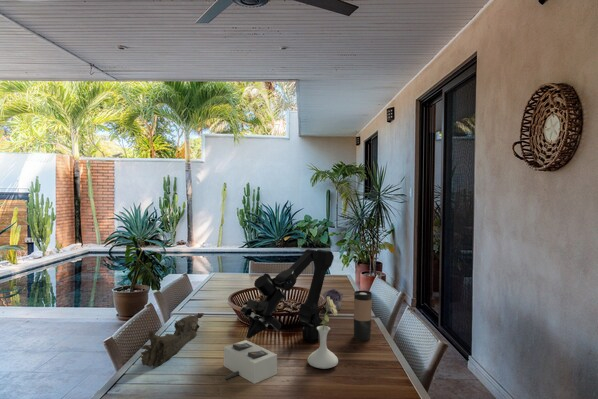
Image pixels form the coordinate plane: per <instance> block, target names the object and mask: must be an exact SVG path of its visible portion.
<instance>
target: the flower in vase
mask: <svg viewBox="0 0 598 399" xmlns="http://www.w3.org/2000/svg"><path fill="white" fill-rule="evenodd" d="M327 302H328V305H329V307H328V309H329V308H330V310H331V312H332V314H333V316H338V314H339V311H337V310H336V309H335V308H336V306H335V305H334V303H333V300H332V299H331V300H330V297H329V298H328V296H327ZM328 309H327V311H328ZM325 311H326V310H325ZM327 311H326V312H325V313H324V317H323V320H322V322H321V323H320V324H323V326H318V327H317V330H318V331H319V347H318V348H317V349H316V350H314V351H313V352H312V353H310V355H309V356H308V358H307V363H308V364H309V365H310V366H311V367H314V368H317V369H323V370H325V369H330V368H331V369H332V368H334V367H335V366H337V365H338V363H339V359H338V357H337V356H336V354H335V353H334V352H332V351H331V350H329V349H328V347H327V337H328V333H329V331H330V330H331V327H329V326H328V325H327V326H326V325H325V324H327V323H328V322H329V320H330V318H329V315H327V313H328V312H327Z"/></svg>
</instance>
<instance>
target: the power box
mask: <svg viewBox="0 0 598 399" xmlns="http://www.w3.org/2000/svg"><path fill="white" fill-rule="evenodd" d="M233 344H247V345H249V346H251V347H250V348H247V349H244V350H237V349H235V348H233ZM256 351H262V352H264V353H266V354H268V355H265V356H262V357H260V358H252V357H250V356H248V352H256ZM223 367H225V368H227V369H228V370H230V371H232V373H229V374H226V375H225V379H226V380H228V379H229V380H230V379H231V378H233V377H236V376H238V375H239V376H240V377H242V378H244V379H245V380H246V381H248V382H250V383H252V384H257V383H259V382H262V381H264V380H266V379H269V378H271V377H274V376H276V375H277V373H278V371H277V370H278V354H277V353H275V352H273V351H270V350H268V349H266V348H264V347H262V346H259V345H257V344H256V343H253V342H251V341H249V340H247V339H245V340H242V341H238V342H234V343H232V344H229V345H226V346H224V347H223Z"/></svg>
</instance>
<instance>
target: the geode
mask: <svg viewBox="0 0 598 399" xmlns="http://www.w3.org/2000/svg"><path fill="white" fill-rule="evenodd" d="M322 296H324V297H325V298H326V299H327V296H328V298H329V297H330V300H331V299H332V300H333V303H334V305H335V306H336V308H335V309H336V310H337V312H339V311H340V309H341V306H342V302H343V297H344V295H343V293H341V292H339V291H338V290H337V289H335V288H332V289H330V290H329V289H326V290H325V291H324V293H323V295H322ZM328 307H329V305H328V302H327V304H326V305H325V307H324V309H325V311H327V309H328ZM327 313H332V312H331V310H330V308H329V309H328V311H327ZM332 314H333V313H332Z"/></svg>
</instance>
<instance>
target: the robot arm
mask: <svg viewBox="0 0 598 399" xmlns="http://www.w3.org/2000/svg"><path fill="white" fill-rule="evenodd" d="M334 257H335V255H334V254H333V252H332V251H331V250H326V249H321V248H320V249H317V250H316V249H312V248H307V249H305V251H304V253H303V254H302V255H301V256H299V258H298V259H297V260H296V261H295V262H293V264H291V266H290V267H289V268H288V269H284V270H282V271H281V272H279V273H278V274H277V275H276V276H275V277H273V278H272V277H271V276H270V274H269V273H266V272H265V273H263V275H260V276H259V277H258V278H256V279H255V281H254V284H253V285H254V287H255V289H257V290H258V292H259V293H260V294H262V296H264V298H263V299H262V298H261V299H260V300H259V301H257V300H253V299H252V298H248V301H247V304H246V306H242V307H241V309H240V310H239V312H240V313H241V314H242V315H243V316H244V317H245V318H246V319H247V320H248V321H249V325H248V328H247V332H246V336H245V338H247V339H248V340H249V339H251V338H252V337H254V336H256V335H257V334H259V333H261V332H263V331H265V330H268V326H269V325H270V326H272V330H274V331H276V332H279V331H280V330H281V328H282V324H281V322H280V321H279V320H278V318H276V317H275V316H273V313H277V311H278V310H277V309H276V308H277V306H278V305H279V304H280V302H281V301H282V300H284V301H286V300H287V294H286V292H289V291H291V290H292V289H293V288H294V286H295V285H296V284H297V280H298V277H299V276H300V275H301V274H302V273H303V272H304V271H305V270H306V269H307V268H308V266H310V265H311V263H312V262H313V266H314V271H313V276H312V279H311V283H310V287H309V291H308V294H307V297H306V301H305V302H304V303H301V304H300V307H299V310H298V312H297V313H298V318H299V321H300V324H301V325H303V328H302V339H303V343H320V334H319V331H318V330H317V327H318V326H323V324H320V323H321V322H322V321H323V319H322V318H321V317H320V312H321V311H320V307H319V300H320V297H321V293H322V289H323V285H324V281H325V277H326V273H327V271H328V270H329V269H330V268H331V267H332V264H333V261H334ZM284 291H285V292H284Z"/></svg>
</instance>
